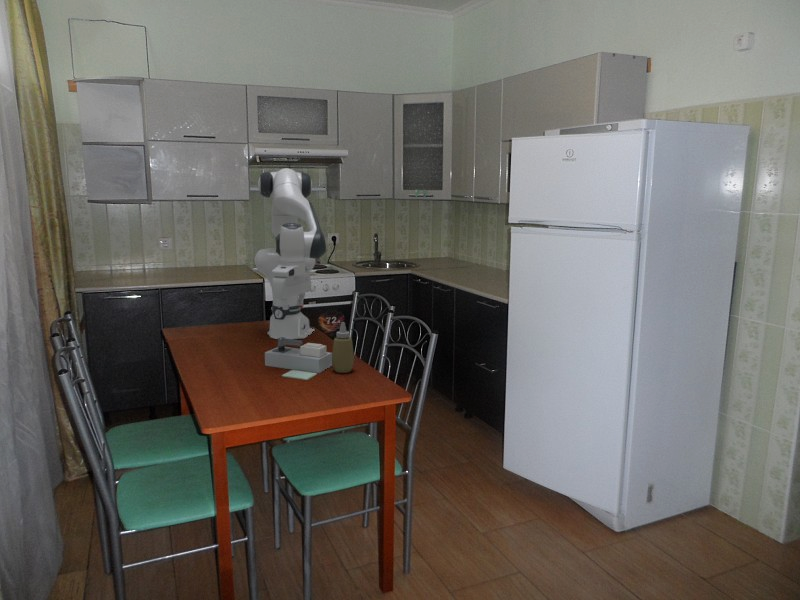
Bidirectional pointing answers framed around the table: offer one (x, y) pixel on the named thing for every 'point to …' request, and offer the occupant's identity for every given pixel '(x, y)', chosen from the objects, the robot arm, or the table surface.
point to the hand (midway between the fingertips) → (293, 307)
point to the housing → (297, 360)
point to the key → (287, 343)
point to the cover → (313, 349)
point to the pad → (299, 374)
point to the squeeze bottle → (342, 351)
